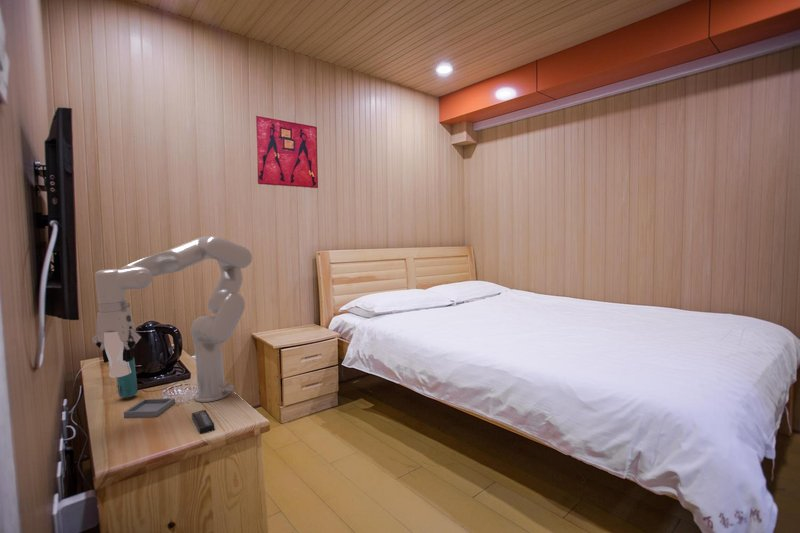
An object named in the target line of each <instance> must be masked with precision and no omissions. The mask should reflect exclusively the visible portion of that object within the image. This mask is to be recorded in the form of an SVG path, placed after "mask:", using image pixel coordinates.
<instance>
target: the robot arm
mask: <svg viewBox="0 0 800 533" xmlns="http://www.w3.org/2000/svg"><path fill="white" fill-rule="evenodd" d="M208 259H209V260H210V259H211V260H217V264H218V266H219V268H220V269H219V270H220V276H219V279H218V282H217V284H216V286H215V288H214V290H213V291H212V292H211V293H212V294H211V295H210V297H209V299H208V302H207V309H208V310H209V312H210V313H212V314H214V315H215V316H214V315H213V316H212V315H202V316H198V317H197V318H195V320H194V321H193V322H192V324H191V326H190V333H191V334H190V335H191V338H192V343H193V347H194V355H195V368H196V379H197V380H196V382H197V383H196V384H197V392H196V393H195V394H194V395H193V399H194V401H196V402H199V403H208V402H214V401H219V400H221V399H224V398H225V397H227V396H228V395H229V394H230V393H234V392H235V390H236V389H235V385H233V384H231V385H228V381H225V373H224V372H225V371H224V359H223V358H224V356H223V349H222V348H223V347H222V344H224V343H227V341H228V340H229V339H230V338H231V337H232V335H233V334H234V332H235V329H236V328H237V326H238V324H239V322H240V320H241V318H242V315H243V314H244V311H245V306H246V305H245V299H244V296H242V295H241V294H240V293H239V291H240V289H241V287H242V285H243V273H242V269H245V268H247V267H249V266H250V265H251V264H252V262H253V261H252V260H253V256H252V253H251V251H250V250H249V249H248V248H246V247H245V246H243V245H241V244H238V243H235V242H233V241H229V240H227V239H225V238H222V237H219V236H215V235H212V236H210V235H209V236H205V235H204V236H200V237H197V238H194V239H192V240H189V241H186V242H184V243H182V244H179V245H177V246H175V247H172V248H170V249H167V250H164V251H161V252H158V253H155V254H152V255H150V256H146V257H144V258H141V259H138V260H135V261H133V262H131V263H129V264H126V265H124V266H122V267H120V268H110V269H108V268H107V269H101V270H98V271H96V272H95V273H94V280H95V288H96V297H97V299H96V300H97V305H98V312H97V314H96V333H95V334H94V336H93V337H92V338H91V342H93V343H94V344H95V346H96V347H97V348H99V351H101V352H102V359H103V360H102V361H103V363H104V364H107V363H109V361H108V358H107V355H106V352H105V349H104V338H103V337H104V333H103V332H116V331H117V332H118V335H119V337H120V340H121V342H124V347H125V348H126V350H124V355H125V361H126V362H129V361H131V360H133V357H134V356H135V355H134V348H135V346H136V345H137V343H138V342H139V341H140V340H141V339H142V336H141V335H140V334H139V333H138V332H137V331H136V327H135V322H134V318H133V315H132V312H131V311H130V309H128V308H130V306H131V304H130V303H128V302H127V299H126V298H127V296H126V290H141V289H145V288H147V287H149V286H150V285H151V284H152V282H153V279H154V277H157V276H160V275H165V274H171V273H172V274H173V273H174V274H175V273H177V272H181V271H184V270H185V269H189V267H192V266H194V265H197V264H199V263H201V262H204V261H205V260H208ZM128 338H129V339H128ZM127 341H129V344H128V343H127ZM134 358H135V357H134Z"/></svg>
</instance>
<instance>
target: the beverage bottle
mask: <svg viewBox="0 0 800 533" xmlns="http://www.w3.org/2000/svg"><path fill="white" fill-rule="evenodd" d="M129 366H130V369H131V373H130V374H128V375H126V376H122V377H116V378H117V380H116V381H117V392H118V396H119V398H129V397H133V396H136V395H137V394H138V392H139V390H138V388H139V387H138V386H139V385H138V380H137V372H136V362H135V357H133V360H131V361H129Z"/></svg>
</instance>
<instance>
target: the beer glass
mask: <svg viewBox="0 0 800 533" xmlns="http://www.w3.org/2000/svg"><path fill="white" fill-rule="evenodd" d="M103 333H104V337H103V338H104V349H105V352H106V355H107V358H108V361H109V362H108V363H109V364H108V365H109V372H108V375H109V378H112V379H115V378H117V377H122V376H126V375H128V374H130V373H131V369H130V366H129V362H126V361H125V355H124V350H126V348H125V347H124V342H121V340H120V337H119V335H118V332H117V331H116V332H103ZM128 339H129V338H128ZM127 343H128V344H129V341H127Z"/></svg>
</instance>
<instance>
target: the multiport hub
mask: <svg viewBox="0 0 800 533" xmlns="http://www.w3.org/2000/svg"><path fill="white" fill-rule="evenodd" d="M191 419H192V422H193V423H194V426H195V427H196V430H197V431H198V433H199V434H200V435H202V433H203V434H206V433H209V431H210V432H212V430H213V431H215V430H214V429H215V423H214V422H213V420H212V418H211V417H210V415H209V414H208V412H207V411H206V409H203V410H199V411H195V412H191Z"/></svg>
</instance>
